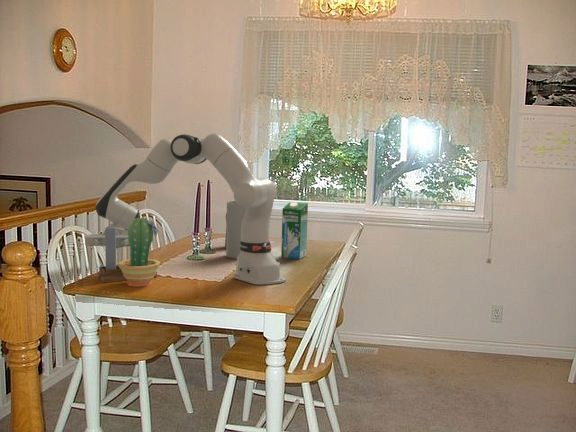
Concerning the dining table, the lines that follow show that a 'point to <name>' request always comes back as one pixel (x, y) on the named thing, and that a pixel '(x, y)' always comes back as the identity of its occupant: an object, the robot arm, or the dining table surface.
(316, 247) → the dining table surface
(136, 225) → the potted cactus
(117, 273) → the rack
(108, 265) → the blue-grey rectangular bar
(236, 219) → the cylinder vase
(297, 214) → the milk carton
